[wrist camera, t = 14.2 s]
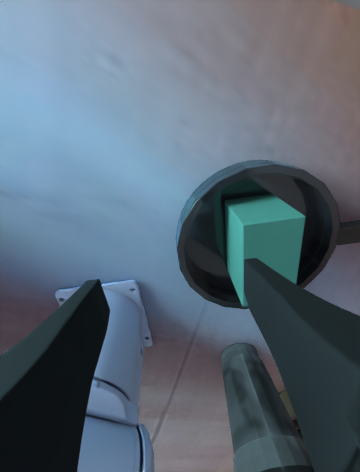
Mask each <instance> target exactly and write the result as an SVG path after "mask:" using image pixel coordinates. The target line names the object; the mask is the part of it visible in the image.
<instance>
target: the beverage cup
mask: <svg viewBox="0 0 360 472" xmlns="http://www.w3.org/2000/svg"><path fill="white" fill-rule="evenodd" d="M221 360H222V373H223V380H224V387H225V394H226V401H227V407H228V414H229V421H230V428H231V435H232V442H233V449H234V472H314V469H313V466H312V463H311V460H310V457H309V454H308V451H307V448H306V445H305V443H304V442H303V441H302V439H301V437H300V435H299V433H298V431H297V429H296V427H295V425H294V423H293V421H292V419H291V417H290V415H289V413H288V411H287V409H286V407H285V405H284V403H283V401H282V399H281V397H280V395H279V393H278V391H277V389H276V387H275V385H274V383H273V381H272V379H271V377H270V375H269V373H268V371H267V369H266V367H265V365H264V363H263V361H262V360H261V359H260V357H259V355H258V354H257V351H256V349H255V348H254V347H253V346H252V345H250V344H246V343H238V344H234V345H231V346H229V347H227V348H226V349H225V350H224V351H223V353H222V354H221Z"/></svg>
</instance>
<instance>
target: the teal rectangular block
mask: <svg viewBox="0 0 360 472" xmlns="http://www.w3.org/2000/svg"><path fill="white" fill-rule="evenodd" d="M304 225H305V216H304V215H303V214H301V213H300V212H298V211H297V210H295V209H294V208H293V207H291V206H290V205H288V204H287V203H285V202H284V201H282V200H281V199H279V198H278V197H277V196H275V195H274V194H266V195H259V196H252V197H245V198H238V199H231V200H225V227H226V254H227V270H228V273H229V275H230V277H231V280H232V282H233V285H234V287H235V289H236V292H237V294H238V297H239V299H240V301H241V304H242V306H243V307H247V306H248V303H247V300H246V297H245V294H244V259H251V258H257V259H259V260H260V261H262V262H263V263H265V264H266V265H267V266H269V267H270V268H272V269H273V270H275V271H276V272H278V273H279V274H281V275H282V276H284V277H285V278H287V279H288V280H290V281H291V282H293V283H295V284H296V282H297V275H298V268H299V261H300V254H301V246H302V239H303V232H304Z"/></svg>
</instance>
